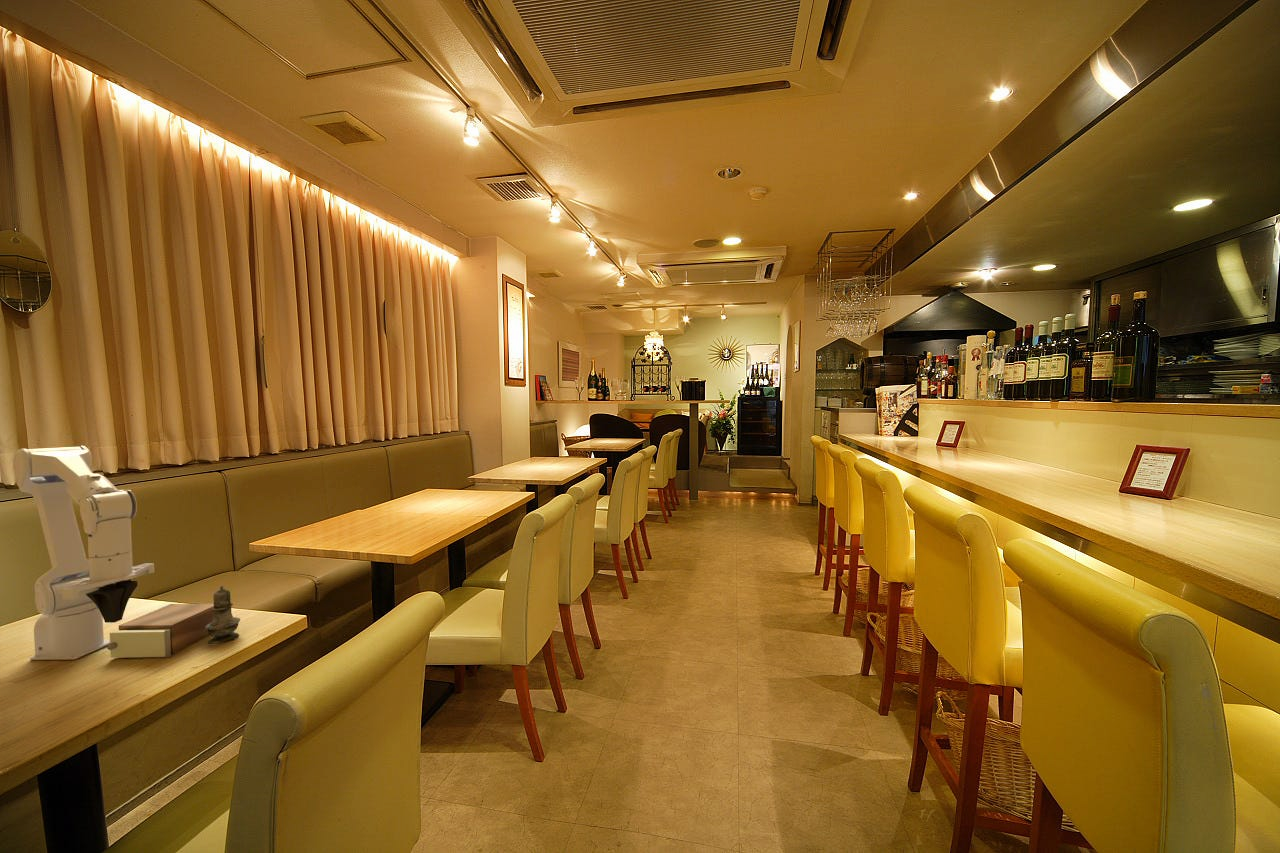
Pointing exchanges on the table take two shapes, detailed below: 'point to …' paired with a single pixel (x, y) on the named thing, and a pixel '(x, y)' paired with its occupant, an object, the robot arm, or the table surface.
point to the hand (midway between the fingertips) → (113, 621)
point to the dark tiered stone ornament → (222, 619)
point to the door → (140, 643)
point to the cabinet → (176, 623)
